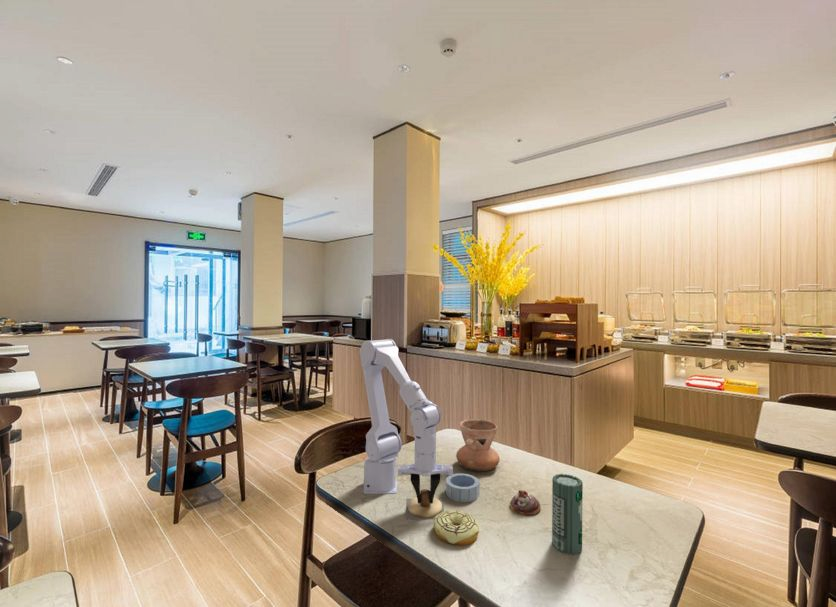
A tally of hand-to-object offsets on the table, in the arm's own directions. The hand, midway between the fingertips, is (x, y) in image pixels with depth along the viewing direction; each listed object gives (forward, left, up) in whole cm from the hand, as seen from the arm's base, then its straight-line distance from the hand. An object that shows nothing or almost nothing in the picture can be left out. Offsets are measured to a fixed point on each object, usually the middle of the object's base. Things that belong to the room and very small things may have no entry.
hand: (425, 501), depth 102 cm
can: (+32, -15, -2) cm, 35 cm away
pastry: (+27, +1, -3) cm, 27 cm away
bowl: (+11, +8, -2) cm, 14 cm away
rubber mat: (0, 0, -2) cm, 2 cm away
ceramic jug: (+19, +28, -2) cm, 34 cm away
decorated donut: (+7, -11, -3) cm, 13 cm away
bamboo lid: (0, 0, -2) cm, 2 cm away
